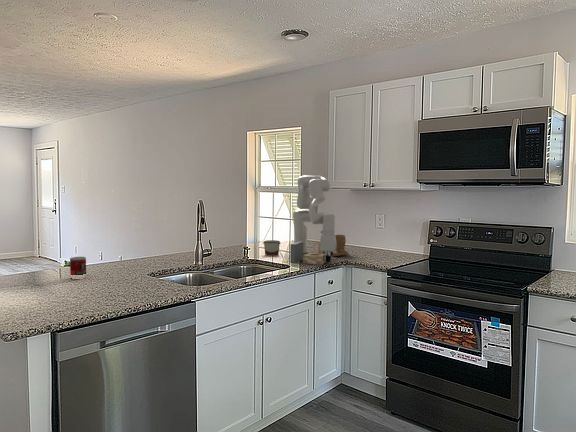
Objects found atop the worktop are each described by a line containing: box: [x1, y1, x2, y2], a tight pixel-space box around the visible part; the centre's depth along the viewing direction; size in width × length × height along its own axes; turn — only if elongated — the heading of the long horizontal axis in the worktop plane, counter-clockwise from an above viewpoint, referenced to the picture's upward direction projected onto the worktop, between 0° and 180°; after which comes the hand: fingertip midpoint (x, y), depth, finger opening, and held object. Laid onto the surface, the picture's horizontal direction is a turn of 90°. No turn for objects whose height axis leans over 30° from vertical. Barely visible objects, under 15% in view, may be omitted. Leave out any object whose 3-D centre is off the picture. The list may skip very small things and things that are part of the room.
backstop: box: [289, 242, 304, 264], centre depth 291 cm, size 14×3×12 cm, turn 155°
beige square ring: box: [302, 252, 327, 266], centre depth 286 cm, size 12×12×5 cm
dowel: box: [317, 241, 324, 254], centre depth 297 cm, size 4×4×12 cm
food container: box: [262, 239, 281, 256], centre depth 318 cm, size 12×6×10 cm, turn 84°
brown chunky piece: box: [331, 234, 350, 257], centre depth 316 cm, size 15×12×15 cm
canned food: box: [69, 256, 87, 275], centre depth 237 cm, size 8×8×11 cm
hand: (328, 262), depth 283 cm, fingers closed
